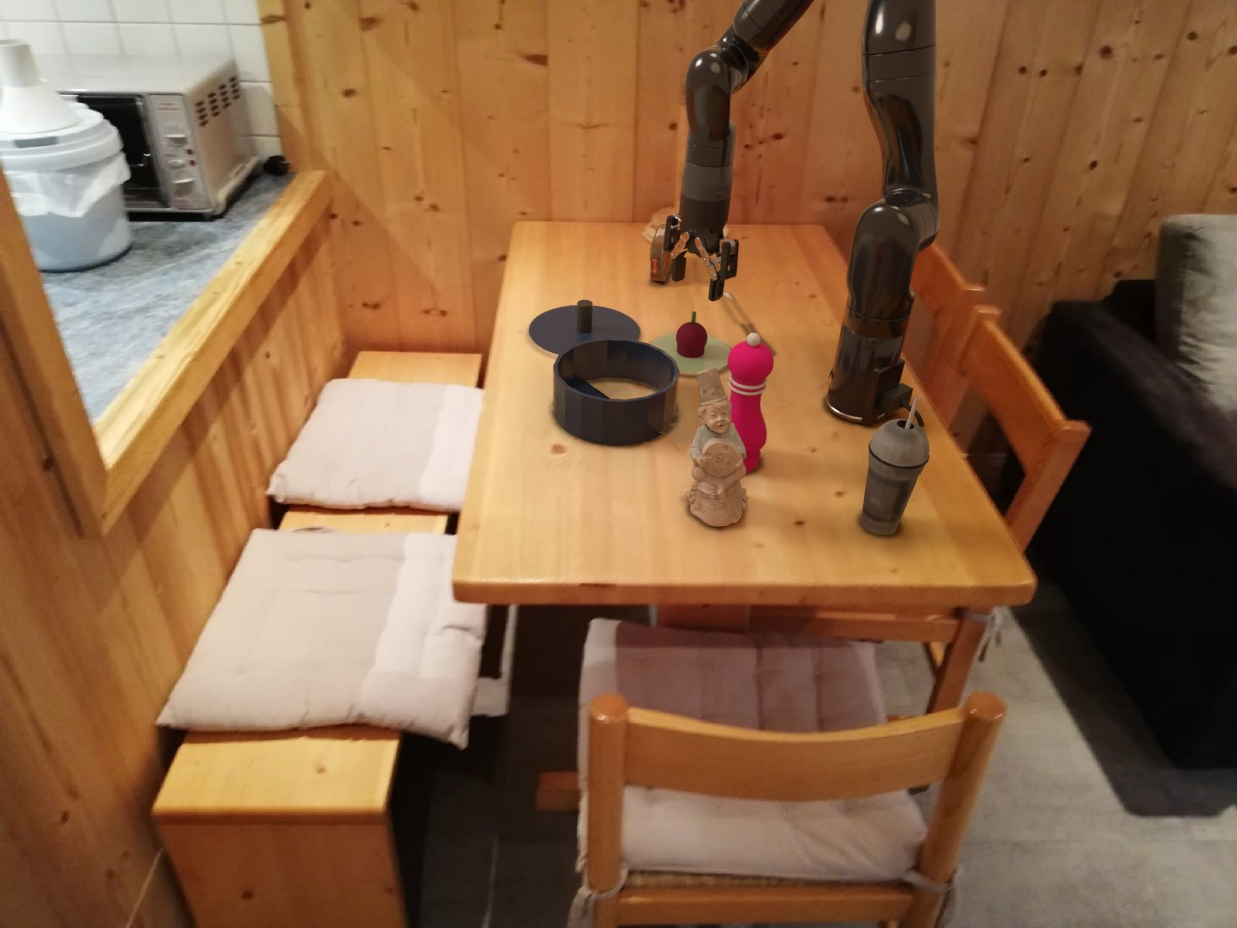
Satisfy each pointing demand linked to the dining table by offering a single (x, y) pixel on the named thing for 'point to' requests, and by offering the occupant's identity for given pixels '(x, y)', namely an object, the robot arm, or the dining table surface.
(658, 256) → the tin
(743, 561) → the dining table surface
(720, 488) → the figurine
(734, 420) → the pepper mill
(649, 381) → the pan
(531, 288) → the dining table surface
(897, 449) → the beverage cup
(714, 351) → the plate
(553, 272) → the dining table surface
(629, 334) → the pan lid
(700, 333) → the beet
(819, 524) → the dining table surface
